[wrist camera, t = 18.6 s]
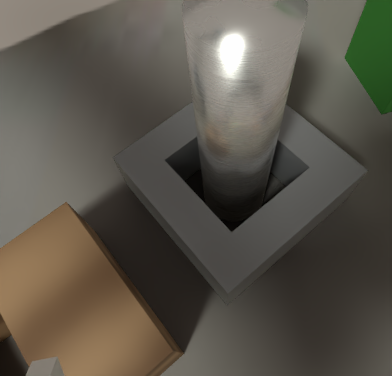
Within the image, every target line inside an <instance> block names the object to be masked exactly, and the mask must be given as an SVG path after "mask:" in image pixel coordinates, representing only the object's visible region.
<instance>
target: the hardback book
mask: <svg viewBox="0 0 392 376" xmlns="http://www.w3.org/2000/svg"><path fill="white" fill-rule="evenodd" d="M345 59H346V61H347V62H348V64H349V65H350V67H351V68H352V70H353V72H354V73H355V75H356V76H357V78H358V79H359V81H360V82H361V84H362V85H363V87H364V88H365V90H366V91H367V93H368V94H369V96H370V97H371V99H372V100H373V102H374V104H375V105H376V107H377V108H378V110H379V111H380V113H381V114H385V113H388V112H392V0H367V2H366V5H365V7H364V10H363V12H362V15H361V17H360V20H359V22H358V25H357V28H356V30H355V33H354V35H353V38H352V40H351V43H350V45H349V48H348V50H347V53H346V56H345Z"/></svg>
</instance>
